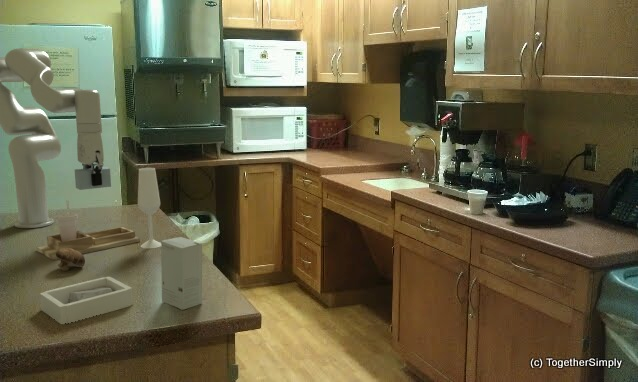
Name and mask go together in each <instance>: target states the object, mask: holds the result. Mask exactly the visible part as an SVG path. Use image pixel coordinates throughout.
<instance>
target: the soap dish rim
mask: <svg viewBox="0 0 638 382" xmlns="http://www.w3.org/2000/svg"><path fill="white" fill-rule="evenodd" d="M104 286H105V287H108V288H111V290H112V291H113V292H110V293H107V294H103V295H99V296H95V297H91V298H87V299H84V300H80V301H76V302H72V303H69V300H68V299H69V296H70V293H71V292H78V291H82V290H87V289H94V288H99V287H104ZM133 297H134V296H133V287H131V286H129V285H127V284H126V283H123V282H121V281H119V280H117V279H116V278H113V277H111V276H104V277H100V278H94V279H90V280H87V281H83V282H78V283H74V284H70V285H66V286H61V287H57V288H54V289H50V290H46V291H44V292H39V301H40V308H41V309H40V310H41V311H42V312H43V313H45V314H46V315H47V316H49V317H51V319H53V320H54V319H55V320H54V321H56V322H57V323H59V324H60V325H61V324H63V325H66V324H68V323H69V324H72V323H71V322H73V323H75V321H76V322H79V321H78V320H80V321H83V320H86V319H85V318H87V319H90V318H93V316H94V317H96V315H97V316H100V314H101V315H104V314H107V313H110V312H114V311H117V310H122V309H126V308H128V307H130V306H133V305H134V298H133ZM89 317H90V318H89ZM82 319H83V320H82ZM65 323H66V324H65Z"/></svg>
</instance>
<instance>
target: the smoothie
mask: <svg viewBox="0 0 638 382" xmlns="http://www.w3.org/2000/svg"><path fill="white" fill-rule="evenodd" d="M65 203H66V212H63V213H58V214H56V215H55V220H56V222H57V226H58V227H57V228H58V230H59V234H60V236H61V240H62V241H67V240H72V239H76V236H77V231H78V218H79V213H77V212H70V206H69V200H66V201H65Z"/></svg>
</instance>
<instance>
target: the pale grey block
mask: <svg viewBox="0 0 638 382" xmlns="http://www.w3.org/2000/svg"><path fill="white" fill-rule="evenodd" d="M91 174H93V173H92V168H87V169H83V168H79V169H78V168H76V169H74V180H75V189H77V190H79V191H82V190H92V189H100V188H102V189H103V188H111V187H112V180H111V179H112V178H111V168H110V167H107V166H103V167H102V173H101V174H102V185H98V186H92V179H91Z"/></svg>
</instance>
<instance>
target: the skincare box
mask: <svg viewBox="0 0 638 382" xmlns="http://www.w3.org/2000/svg"><path fill="white" fill-rule="evenodd" d="M160 243H161V248H160V249H161V253H160V254H161V257H160V258H161V259H160V260H161V302H162V303H164V304H166V305H170V306H172V307H175V308H178V309H179V310H180V311H181V310H182V311H183V310H186V309H190V308H194V307H196V306H199V305H202V304H203V285H202V284H203V259H202V258H203V250H202V249H203V248H202V247H203V244H202V243H200V242H197V241H194V240H193V239H190V238H185V237H183V236H178V237H177V236H176V237H173V238H168V239H162V240H161V241H160Z"/></svg>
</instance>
